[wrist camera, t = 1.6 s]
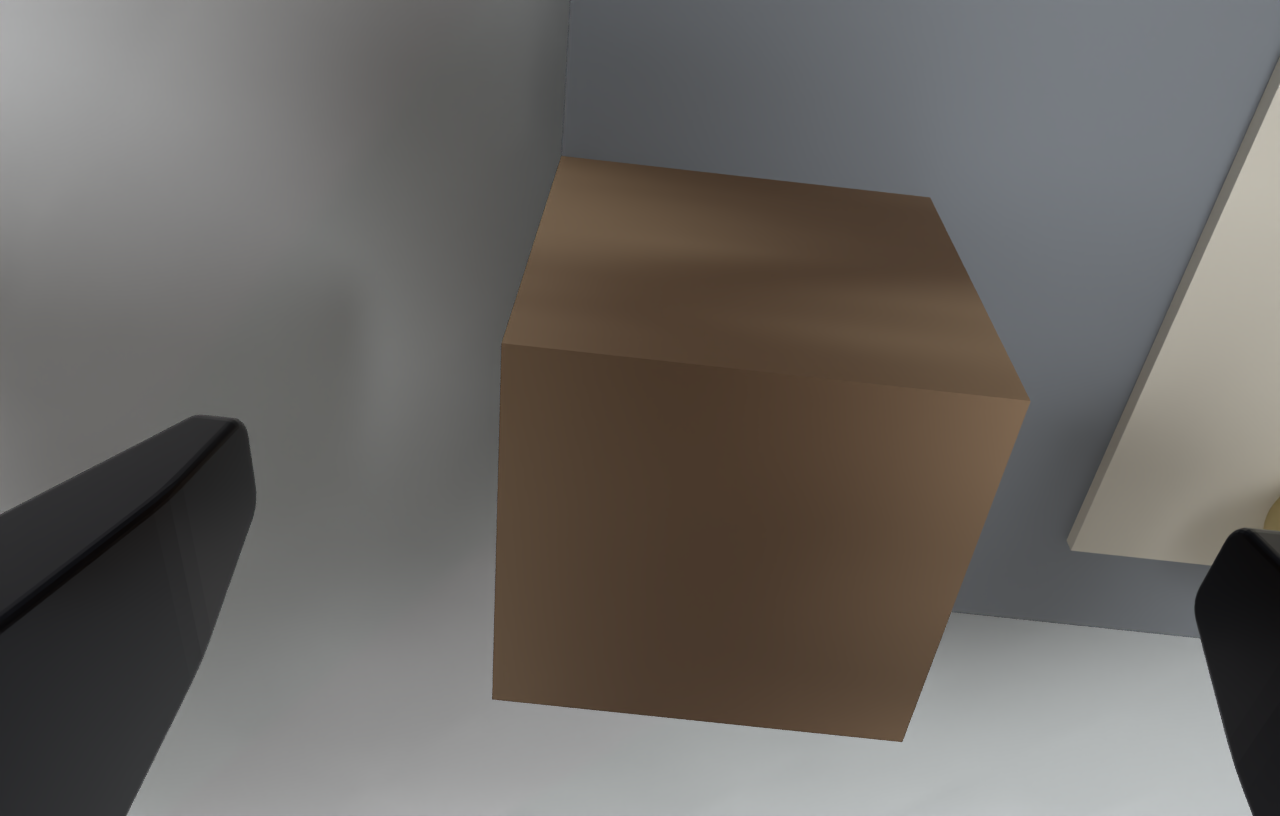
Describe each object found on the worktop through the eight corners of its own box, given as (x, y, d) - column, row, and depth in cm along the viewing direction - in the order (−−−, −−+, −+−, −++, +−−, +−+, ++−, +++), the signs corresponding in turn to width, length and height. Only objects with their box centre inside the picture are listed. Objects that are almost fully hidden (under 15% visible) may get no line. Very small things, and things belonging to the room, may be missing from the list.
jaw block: (930, 197, 11) (1031, 400, 8) (851, 487, 13) (902, 741, 10) (560, 156, 11) (502, 343, 8) (544, 453, 13) (492, 699, 10)
